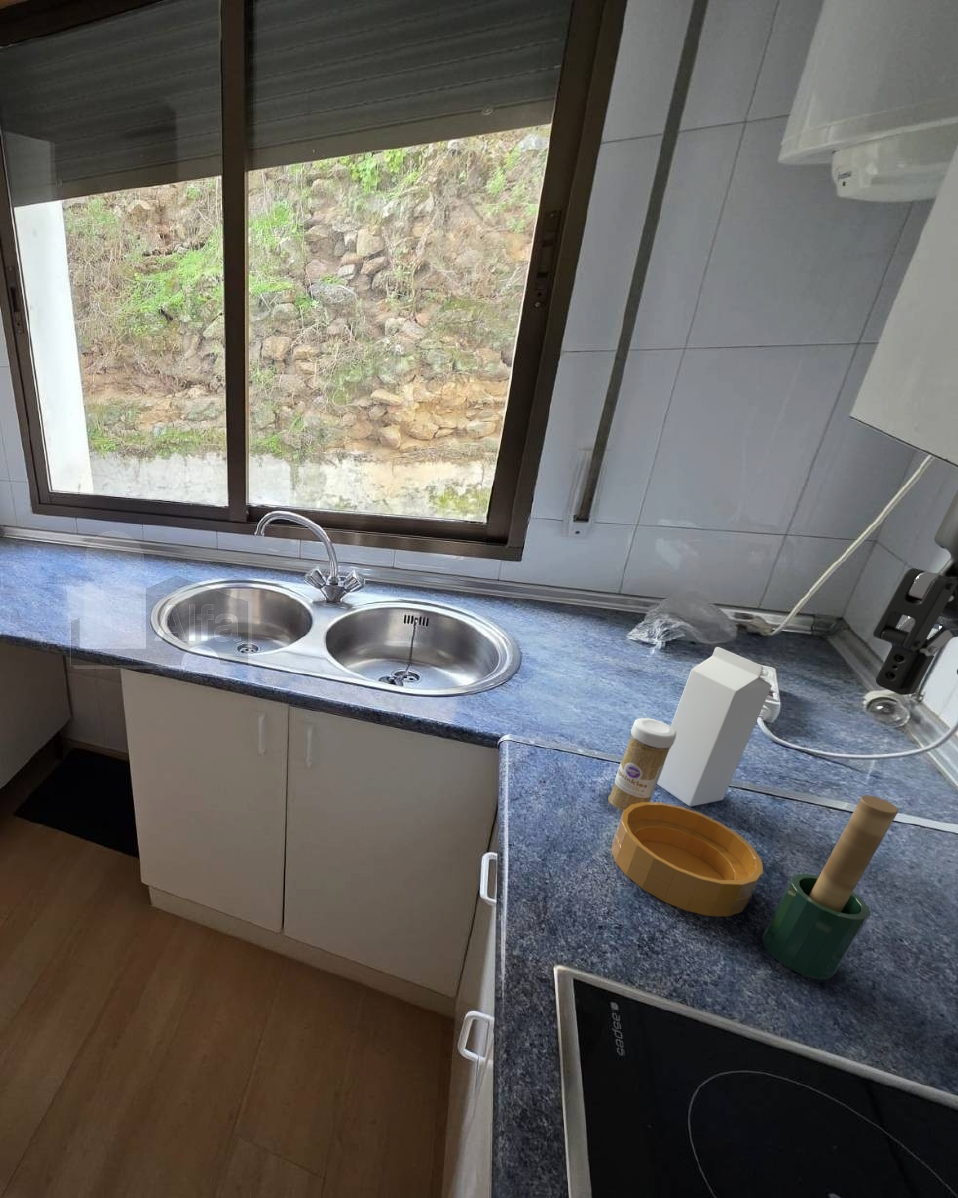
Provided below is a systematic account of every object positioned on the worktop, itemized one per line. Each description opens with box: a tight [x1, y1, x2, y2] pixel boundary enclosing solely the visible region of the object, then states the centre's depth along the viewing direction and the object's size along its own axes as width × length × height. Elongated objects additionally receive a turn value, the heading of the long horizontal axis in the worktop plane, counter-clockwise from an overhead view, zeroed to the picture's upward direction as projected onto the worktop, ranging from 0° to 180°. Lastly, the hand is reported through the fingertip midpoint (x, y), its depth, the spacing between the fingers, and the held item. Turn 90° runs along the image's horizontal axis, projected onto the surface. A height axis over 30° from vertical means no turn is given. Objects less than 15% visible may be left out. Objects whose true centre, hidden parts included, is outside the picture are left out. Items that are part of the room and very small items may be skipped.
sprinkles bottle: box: [607, 717, 676, 812], centre depth 85 cm, size 5×5×13 cm
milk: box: [657, 646, 773, 807], centre depth 87 cm, size 6×6×22 cm
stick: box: [809, 795, 899, 913], centre depth 63 cm, size 2×2×20 cm
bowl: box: [610, 801, 764, 918], centre depth 76 cm, size 13×13×6 cm
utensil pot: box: [761, 873, 871, 980], centre depth 65 cm, size 6×6×9 cm
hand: (934, 685), depth 52 cm, fingers open, 8 cm apart
